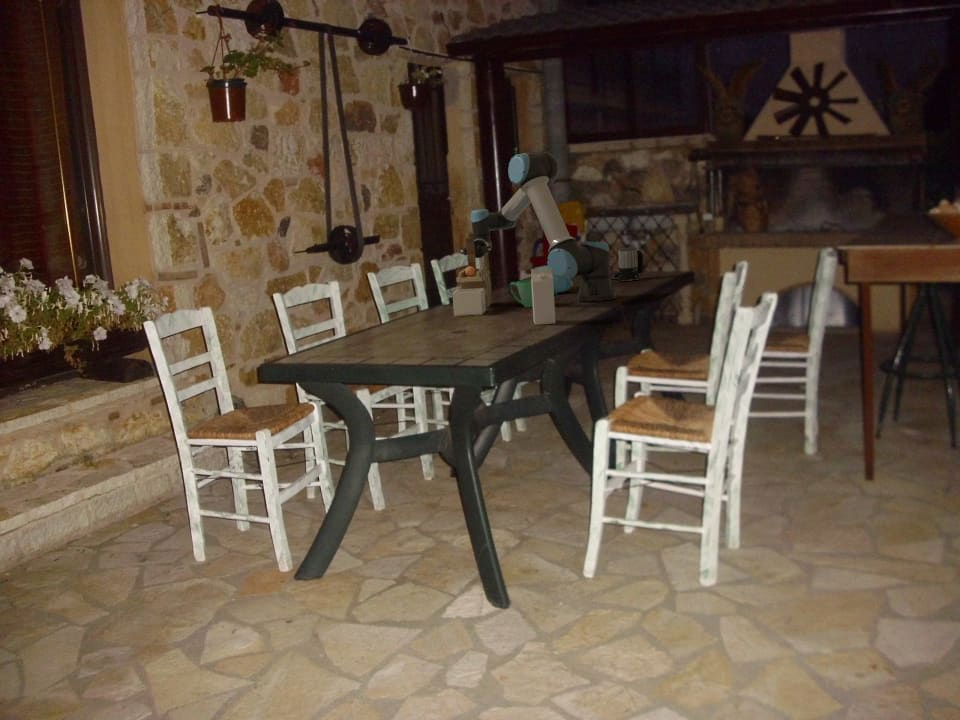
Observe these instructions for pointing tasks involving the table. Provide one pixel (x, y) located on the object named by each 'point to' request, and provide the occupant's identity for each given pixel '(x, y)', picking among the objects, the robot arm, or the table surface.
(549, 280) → the milk carton
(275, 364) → the table surface
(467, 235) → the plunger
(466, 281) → the launcher
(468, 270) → the ball
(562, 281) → the decorative pot
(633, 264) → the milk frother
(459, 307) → the beige cardboard cube
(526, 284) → the mug
